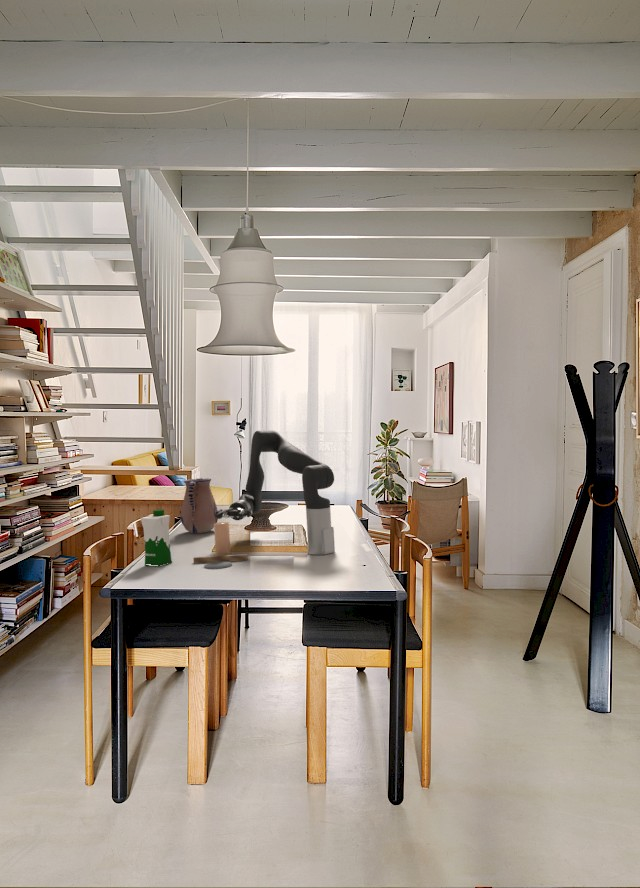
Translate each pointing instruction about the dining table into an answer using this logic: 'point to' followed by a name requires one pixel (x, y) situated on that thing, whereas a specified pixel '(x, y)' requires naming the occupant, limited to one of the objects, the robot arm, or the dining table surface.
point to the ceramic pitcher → (198, 506)
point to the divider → (220, 558)
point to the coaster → (218, 565)
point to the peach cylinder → (222, 538)
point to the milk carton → (157, 538)
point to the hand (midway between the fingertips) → (229, 516)
